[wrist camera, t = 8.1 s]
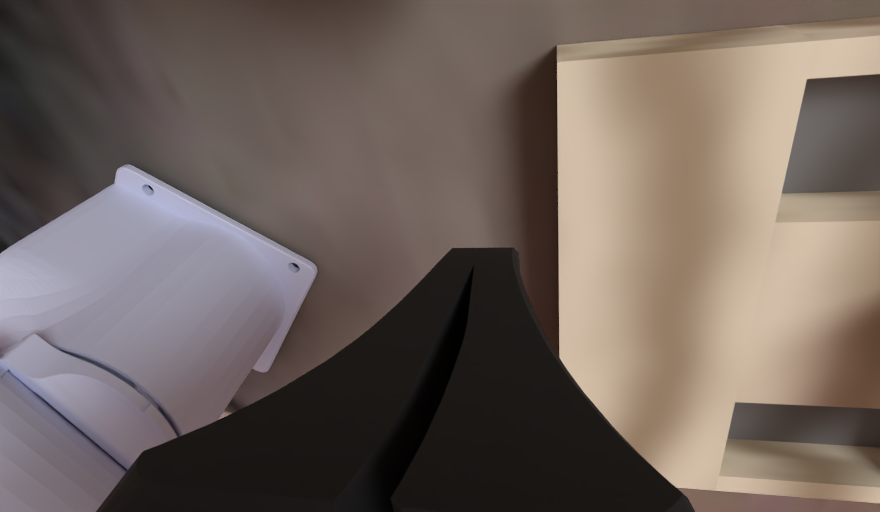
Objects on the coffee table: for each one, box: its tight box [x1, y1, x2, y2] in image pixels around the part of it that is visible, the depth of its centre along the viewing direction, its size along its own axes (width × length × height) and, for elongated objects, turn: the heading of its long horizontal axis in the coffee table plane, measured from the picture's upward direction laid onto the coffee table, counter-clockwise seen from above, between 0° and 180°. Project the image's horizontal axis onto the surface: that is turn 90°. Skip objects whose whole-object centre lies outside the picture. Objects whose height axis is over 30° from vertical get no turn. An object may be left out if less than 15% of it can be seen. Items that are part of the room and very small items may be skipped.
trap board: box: [557, 17, 880, 503], centre depth 19 cm, size 18×19×4 cm
